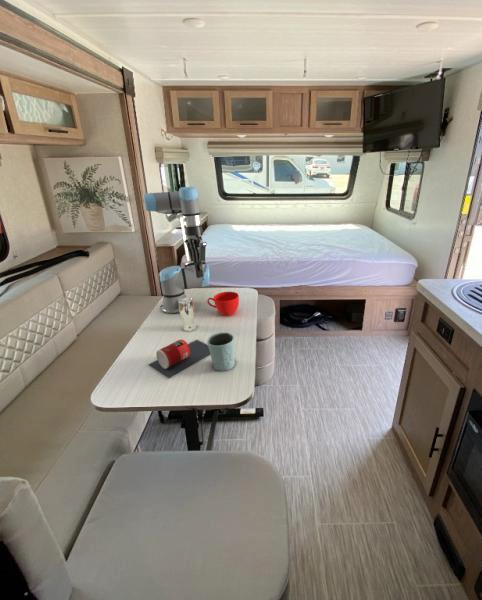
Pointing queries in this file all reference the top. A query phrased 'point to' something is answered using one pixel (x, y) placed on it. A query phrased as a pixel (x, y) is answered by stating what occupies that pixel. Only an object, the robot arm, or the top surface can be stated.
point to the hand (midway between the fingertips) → (199, 276)
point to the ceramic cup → (225, 302)
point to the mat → (196, 354)
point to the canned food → (173, 353)
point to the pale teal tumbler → (222, 351)
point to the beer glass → (187, 313)
